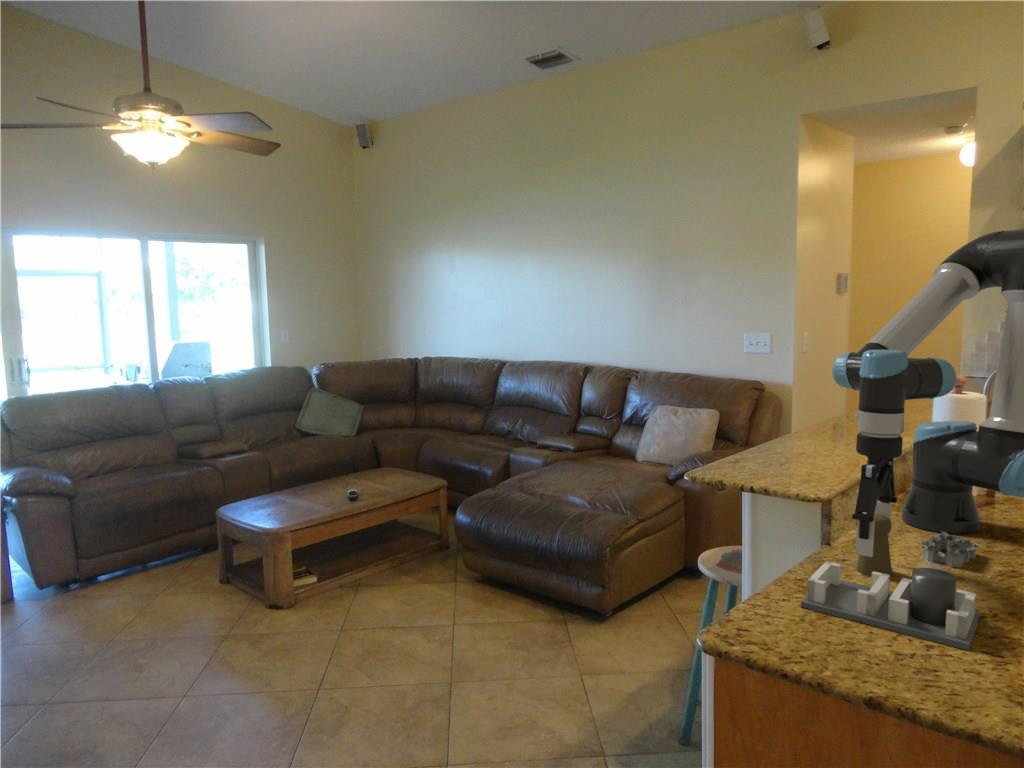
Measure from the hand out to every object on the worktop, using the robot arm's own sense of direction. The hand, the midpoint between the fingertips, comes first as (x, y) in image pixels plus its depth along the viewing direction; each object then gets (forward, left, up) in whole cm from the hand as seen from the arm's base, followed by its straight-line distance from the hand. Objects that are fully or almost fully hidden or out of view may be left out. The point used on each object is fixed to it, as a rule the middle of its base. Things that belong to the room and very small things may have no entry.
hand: (873, 544), depth 132 cm
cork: (0, 0, -6) cm, 6 cm away
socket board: (+17, +6, -5) cm, 18 cm away
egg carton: (-16, +10, -6) cm, 20 cm away
